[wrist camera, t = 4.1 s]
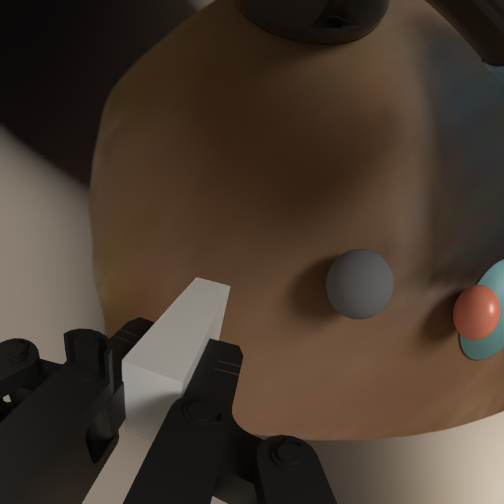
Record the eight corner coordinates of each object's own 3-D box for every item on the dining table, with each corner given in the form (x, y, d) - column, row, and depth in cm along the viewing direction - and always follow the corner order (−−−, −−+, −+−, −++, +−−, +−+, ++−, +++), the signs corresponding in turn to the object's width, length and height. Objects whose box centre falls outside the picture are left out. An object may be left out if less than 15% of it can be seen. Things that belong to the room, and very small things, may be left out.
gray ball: (308, 282, 24) (316, 307, 19) (346, 230, 23) (364, 242, 18) (355, 313, 24) (371, 343, 19) (391, 265, 23) (417, 285, 18)
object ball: (435, 311, 24) (461, 336, 18) (465, 267, 22) (496, 284, 17) (460, 333, 24) (485, 358, 18) (487, 294, 23) (516, 312, 17)
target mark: (442, 355, 25) (442, 356, 24) (485, 245, 22) (487, 245, 21) (501, 360, 24) (502, 361, 24) (538, 271, 21) (539, 271, 21)
